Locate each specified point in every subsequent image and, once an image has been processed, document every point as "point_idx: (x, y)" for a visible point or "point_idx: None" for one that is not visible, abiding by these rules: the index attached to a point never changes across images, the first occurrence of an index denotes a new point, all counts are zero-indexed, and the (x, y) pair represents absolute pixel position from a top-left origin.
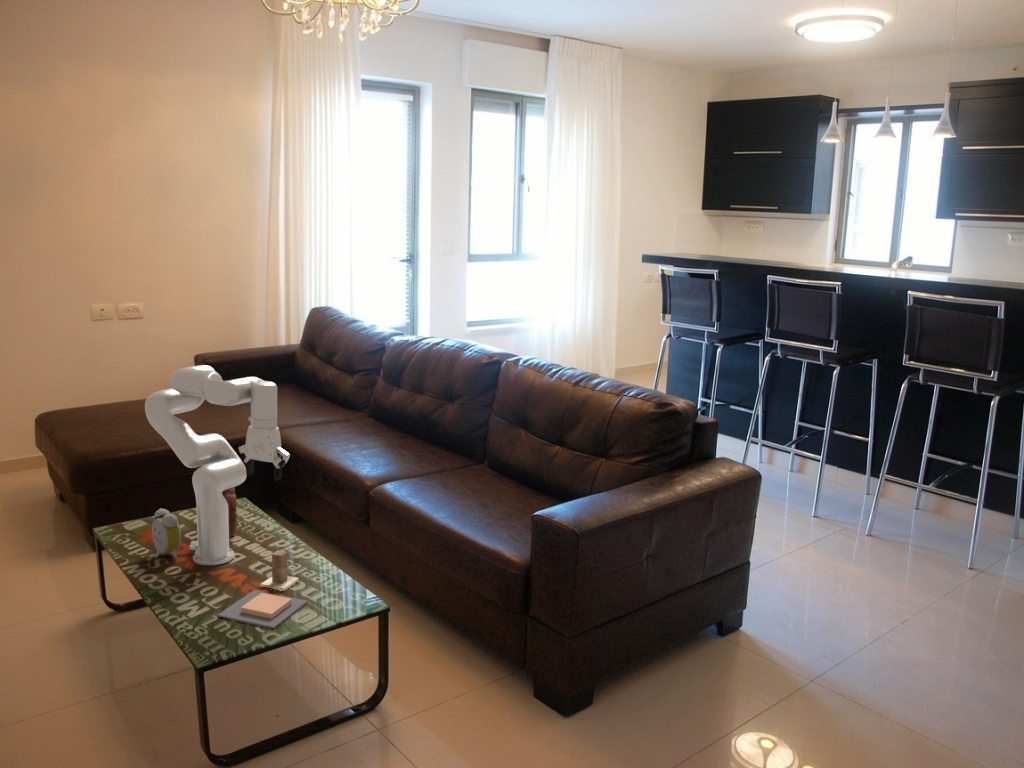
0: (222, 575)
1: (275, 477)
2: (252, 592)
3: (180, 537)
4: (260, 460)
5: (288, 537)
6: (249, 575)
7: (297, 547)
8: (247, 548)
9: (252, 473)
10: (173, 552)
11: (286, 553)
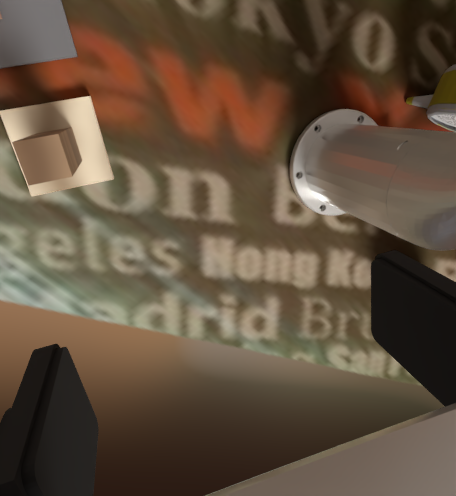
0: (243, 94)
1: (25, 373)
2: (64, 36)
3: (446, 108)
4: (293, 465)
5: (269, 351)
6: (182, 139)
7: (211, 331)
8: (306, 254)
9: (374, 315)
10: (427, 96)
11: (27, 179)
